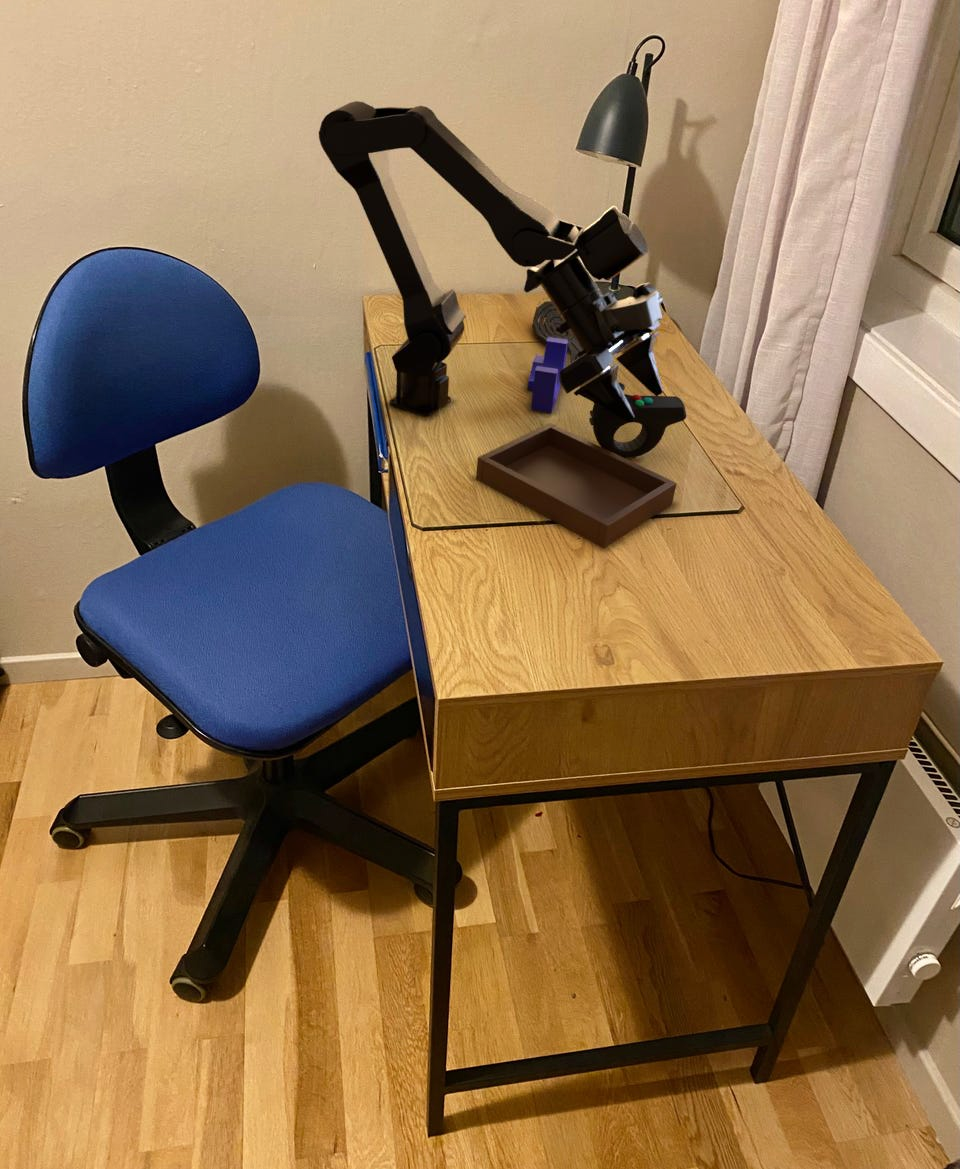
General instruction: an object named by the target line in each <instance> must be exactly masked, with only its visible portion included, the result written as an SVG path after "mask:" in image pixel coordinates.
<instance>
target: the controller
mask: <svg viewBox="0 0 960 1169" xmlns="http://www.w3.org/2000/svg"><path fill="white" fill-rule="evenodd" d="M617 382H618V384H619V385H620V387H621V389H622V391H623V392H624V391H625V389H626V386H625V384H624V383H622V382H619V381H617ZM624 395H625V397H626V399H627V401H628V403H629V405H630V407H631V409H632V411H633V414H634V416H635V419H634V420H632V421H631V422H626V421H624V420H623V419H621V418H620V417H618V416H616V415H615V414H613V413H611V412H610V411H608V410H606V409H605V408H603V407H601V406H600V405H598V404H596V403H594V402H593V405H592V410H590V411H589V415H590V417H588V418H589V419H588V421H589V424H590V426H592V429H593V430H592V431H593V434H594V437H595V439H596V441H597V444H598V446H600V447H602V448H604V449H606V450H608V451H611V452H613V453H615V454H617V455H619V456H621V457H623V458H625V459H633V458H637V457H641V456H643V455H646V454H647V453H649V452H651V451H652V450H654V449H655V448H656V446H657V445H658V444H659V443H660V441H661V440H662V439H663V436H664V435H665V432H666V429H667V428H668V427H669V426H671V425H674V424H677V423H680V422H684V421H685V420H686V418H687V411H686V405H685V404H684V402H683V400H682V399H681V398H680V397H678V396H674V395H673V396H672V395H670V396H669V395H658V396H655V395H639V394H633V395H631V394H627V393H624ZM630 423H631V424H632V423H636V424H640V425H641V429H640V432H639V434H637V436H636V437H635V438H633V439H631V440H629V441H618V440H616V439H615V435H616V433H617V431H618V430H619V429H620V428H621V427H623V426H625V425H627V424H630Z"/></svg>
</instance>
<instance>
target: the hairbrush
mask: <svg viewBox="0 0 960 1169" xmlns="http://www.w3.org/2000/svg"><path fill="white" fill-rule="evenodd" d="M546 299H547V300H546ZM542 300H543V302H542V301H539V302H538V306H535V308H536V309H535V311H534V315H533V318H532V325H531V326H532V329H533V332H534V336H535V338H536V340H538V341H539V342H541V343H543V344H544V345H545V346H546V341H547V338H548V337H551V338H558V339H565V340H568V344H567V353H568V355H569V364H570V363H572V362H573V361H575V360H576V359H578V358H579V356H578V355H577V354H578V353H579V352H580V351H582V349H581V347H580V345H579V344H578V342H577V341H576V339H575V338H574V336H573V334H572V333H571V331H570V330H569V329H568V330H567V331H566V332H564V333H563V332H562V330H561V328H560V327H559V326H560V325H561V324H563V323H564V320H563V319H562V317H561V316H560V315H561V314H559V313H558V311H557V310H556V308H555V306H554V305H553V303H552V302H551V300H549V297H545V298H544V297H543V299H542ZM541 302H542V303H541ZM539 304H540V305H539ZM562 314H563V313H562Z"/></svg>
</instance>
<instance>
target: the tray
mask: <svg viewBox="0 0 960 1169" xmlns="http://www.w3.org/2000/svg"><path fill="white" fill-rule="evenodd" d="M476 460H477V461H476V475H475V480H476V481H479V482H481V483H483V484H484V485H486V486H488V487H490V488H491V489H493V490H495V491H497V492H498V493H501V494H503V495H505V496H506V497H508V498H510V499H512V500H514V501H516V502H517V503H520V504H521V505H523V506H524V507H527V508H528V509H531V511H534V512H536V513H538V514H540V515H542V516H543V517H545V518H547V519H549V520H551V521H552V522H554V523H556V524H558V525H560V526H562V527H563V528H566V529H567V530H569V531H571V532H573V533H574V534H577V535H578V536H580V537H582V538H584V539H586V540H587V541H589V542H591V543H593V544H595V545H597V546H599V547H600V548H602V549H605V548H607V547H609V546H610V545H611V544H613V543H615V542H616V541H618V540H619V539H620V538H621V539H622V537H624V536H625V535H627V534H628V533H631V531H633V530H635V529H636V528H638V527H639V526H641V525H642V524H644V523H646V522H647V521H649V520H650V519H651V518H653V517H655V516H656V515H658V514H660V513H661V512H663V511H664V510H666V509H667V508H669V507H670V506H672V505H673V503H674V498H675V492H676V489H677V482H676V481H674V480H671V479H669V478H667V477H665V476H663V475H661V474H659V473H657V472H655V471H653V470H650V469H649V468H646V467H644V466H642V465H640V464H638V463H636V462H635V461H631V460H630V459H628V458H623V457H621V456H619V455H617V454H615V453H613V452H611V451H608V450H606V449H604V448H602V447H601V446H600V445H599V444H596V443H593V442H591V441H589V440H588V439H585V438H583V437H580V436H579V435H577V434H575V433H573V432H571V431H568V430H566V429H564V428H562V427H560V426H558V425H556V424H554V423H552V422H549V423H546V424H544V425H542V426H540V427H538V428H536V429H533V430H532V431H530V432H527V433H526V434H523V435H521V436H519V437H517V438H515V439H513V440H510V441H509V442H507V443H504V444H503V445H500V446H498V447H496V448H494V449H492V450H490V451H489V452H486V453H484V454H482V455H480V456H477V459H476Z"/></svg>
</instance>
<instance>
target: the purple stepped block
mask: <svg viewBox="0 0 960 1169" xmlns="http://www.w3.org/2000/svg"><path fill="white" fill-rule="evenodd" d="M567 344H568V340H565V339H558V338H551V337H548V338H547V341H546V345H545V347H544V355H540V354H535V356H534V358H533V360H532V365H531V370H530V374H529V376H528V380H527V391H529V392H530V391H531V392H532V395H531V404H530V410H531V411H535V412H541V413H548V414H549V413H550V414H552V413H553V410H554V408H555V405H556V401H557V398H558V395H559V391H560V389H561V387H562V386H561V384H560V383H559V372H560V371H561V370H562V369H564V368H565V367H566V359H567V353H568V350H567Z"/></svg>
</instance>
